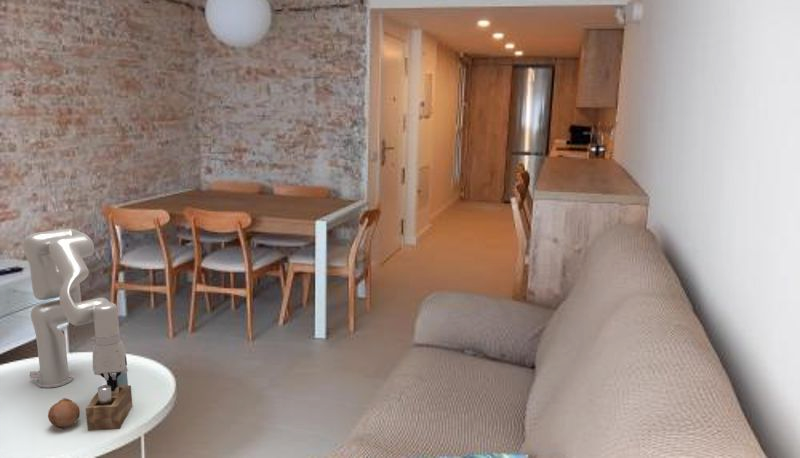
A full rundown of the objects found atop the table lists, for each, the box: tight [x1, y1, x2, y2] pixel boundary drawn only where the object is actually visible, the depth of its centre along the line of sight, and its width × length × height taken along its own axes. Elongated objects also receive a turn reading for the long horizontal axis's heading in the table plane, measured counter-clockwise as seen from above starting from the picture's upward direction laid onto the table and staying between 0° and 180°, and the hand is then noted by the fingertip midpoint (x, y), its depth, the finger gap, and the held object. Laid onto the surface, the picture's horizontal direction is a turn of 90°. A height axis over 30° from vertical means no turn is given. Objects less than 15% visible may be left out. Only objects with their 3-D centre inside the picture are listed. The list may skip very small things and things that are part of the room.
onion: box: [47, 397, 81, 430], centre depth 215 cm, size 10×9×10 cm
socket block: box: [85, 384, 134, 432], centre depth 220 cm, size 10×16×8 cm, turn 8°
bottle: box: [110, 372, 129, 386], centre depth 238 cm, size 7×7×15 cm
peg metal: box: [97, 384, 112, 406], centre depth 215 cm, size 4×4×8 cm
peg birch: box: [111, 387, 119, 395], centre depth 224 cm, size 4×4×8 cm
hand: (112, 389), depth 223 cm, fingers closed
